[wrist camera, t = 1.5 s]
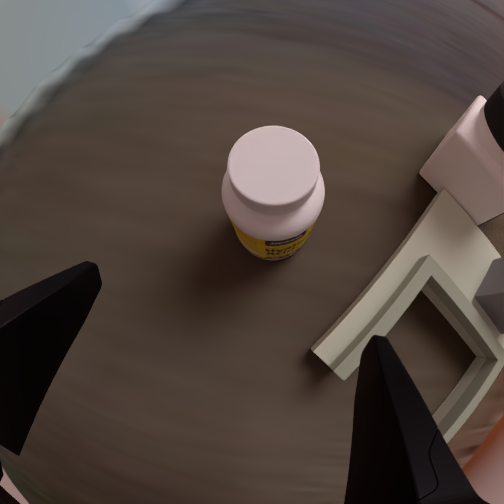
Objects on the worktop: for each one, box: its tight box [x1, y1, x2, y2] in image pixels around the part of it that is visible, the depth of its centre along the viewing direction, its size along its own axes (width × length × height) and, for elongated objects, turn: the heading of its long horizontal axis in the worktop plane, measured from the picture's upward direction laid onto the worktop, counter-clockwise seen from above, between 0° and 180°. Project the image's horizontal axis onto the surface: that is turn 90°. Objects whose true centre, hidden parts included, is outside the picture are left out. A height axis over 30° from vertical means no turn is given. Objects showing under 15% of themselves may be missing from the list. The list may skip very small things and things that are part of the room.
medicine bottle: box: [419, 82, 504, 226], centre depth 15 cm, size 7×7×12 cm
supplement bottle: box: [222, 126, 325, 260], centre depth 17 cm, size 5×5×10 cm
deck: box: [310, 189, 504, 443], centre depth 16 cm, size 16×14×6 cm
